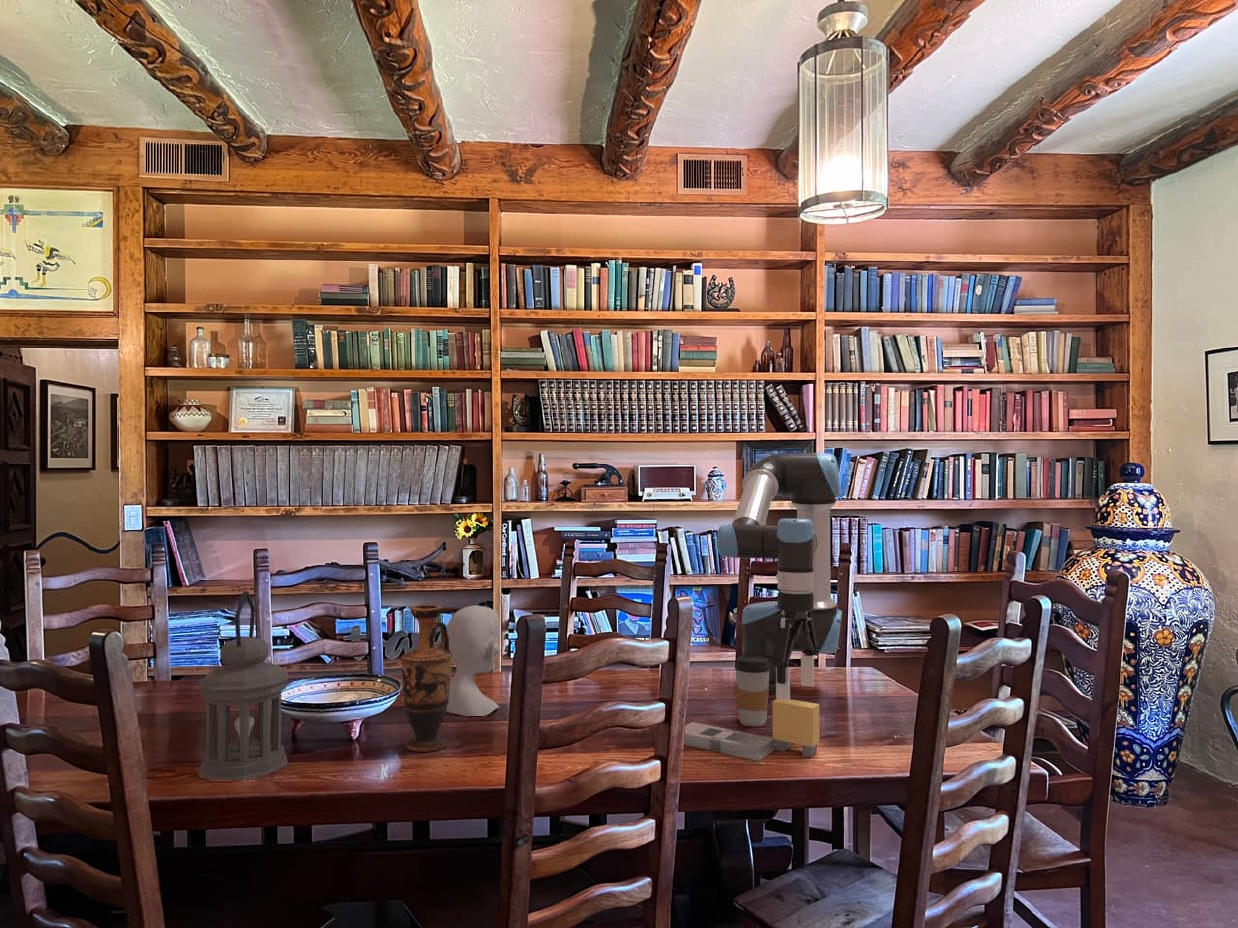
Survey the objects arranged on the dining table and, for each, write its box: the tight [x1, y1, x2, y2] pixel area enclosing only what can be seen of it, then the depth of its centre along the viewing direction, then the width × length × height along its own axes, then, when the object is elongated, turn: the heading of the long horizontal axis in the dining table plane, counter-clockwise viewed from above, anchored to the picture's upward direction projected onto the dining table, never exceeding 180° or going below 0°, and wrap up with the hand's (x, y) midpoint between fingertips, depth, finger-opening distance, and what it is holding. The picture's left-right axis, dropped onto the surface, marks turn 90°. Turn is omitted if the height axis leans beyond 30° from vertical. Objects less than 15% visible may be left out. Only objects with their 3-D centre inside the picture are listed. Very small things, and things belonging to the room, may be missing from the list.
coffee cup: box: [734, 655, 770, 727], centre depth 189 cm, size 8×8×15 cm
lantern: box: [197, 590, 290, 780], centre depth 161 cm, size 17×17×35 cm
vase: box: [400, 603, 453, 753], centre depth 173 cm, size 11×11×30 cm
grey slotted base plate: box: [684, 721, 776, 762], centre depth 172 cm, size 20×8×2 cm, turn 56°
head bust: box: [446, 604, 501, 717], centre depth 205 cm, size 22×19×25 cm
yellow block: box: [772, 698, 821, 758], centre depth 169 cm, size 9×4×10 cm, turn 56°
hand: (795, 692), depth 169 cm, fingers open, 13 cm apart
